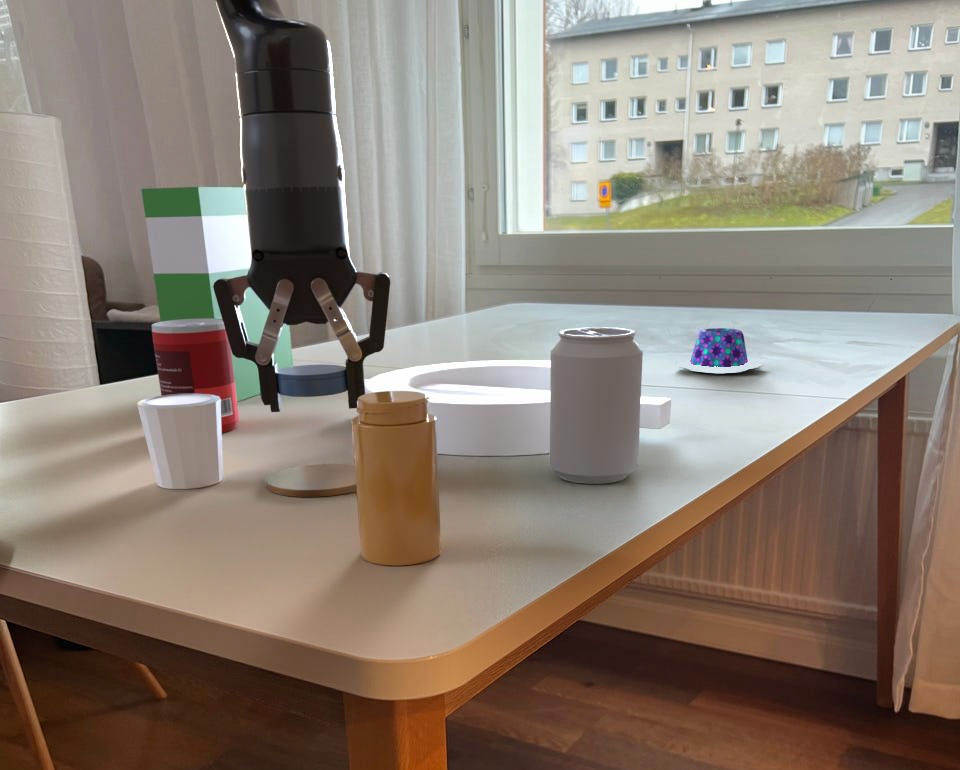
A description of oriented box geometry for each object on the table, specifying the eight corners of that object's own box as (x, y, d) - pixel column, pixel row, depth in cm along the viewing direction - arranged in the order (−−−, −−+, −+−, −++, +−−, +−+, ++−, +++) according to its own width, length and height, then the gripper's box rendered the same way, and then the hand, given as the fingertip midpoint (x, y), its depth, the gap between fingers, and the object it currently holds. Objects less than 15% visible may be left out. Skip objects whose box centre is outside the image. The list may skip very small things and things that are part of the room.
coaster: (266, 500, 80) (265, 493, 79) (266, 474, 88) (265, 467, 88) (378, 492, 81) (377, 485, 81) (367, 467, 89) (367, 460, 89)
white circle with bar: (345, 412, 114) (342, 369, 112) (572, 394, 121) (572, 354, 119) (402, 467, 89) (400, 413, 87) (682, 440, 97) (685, 390, 95)
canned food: (245, 420, 111) (233, 317, 106) (233, 435, 103) (220, 325, 99) (175, 422, 110) (161, 319, 106) (159, 437, 103) (142, 327, 99)
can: (617, 490, 80) (623, 336, 75) (534, 480, 84) (534, 332, 79) (650, 469, 86) (657, 326, 81) (571, 461, 90) (573, 323, 85)
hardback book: (246, 380, 137) (224, 189, 127) (294, 382, 135) (276, 188, 125) (172, 403, 122) (141, 188, 112) (225, 405, 119) (198, 186, 110)
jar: (376, 570, 64) (365, 407, 60) (350, 547, 68) (338, 394, 64) (453, 557, 66) (448, 398, 62) (423, 536, 70) (416, 386, 66)
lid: (350, 383, 84) (348, 363, 83) (349, 395, 79) (347, 373, 78) (280, 386, 84) (278, 366, 83) (275, 398, 78) (272, 376, 78)
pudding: (729, 379, 129) (732, 337, 127) (655, 370, 137) (657, 331, 135) (780, 368, 136) (784, 329, 134) (707, 361, 145) (710, 323, 142)
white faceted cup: (182, 495, 82) (170, 409, 79) (132, 483, 86) (119, 401, 83) (246, 477, 87) (237, 396, 84) (197, 467, 91) (186, 389, 88)
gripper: (388, 183, 79) (400, 397, 86) (205, 187, 78) (231, 404, 85) (390, 180, 72) (403, 413, 79) (189, 185, 71) (220, 421, 78)
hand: (314, 407), depth 82 cm, fingers closed on lid, 5 cm apart
